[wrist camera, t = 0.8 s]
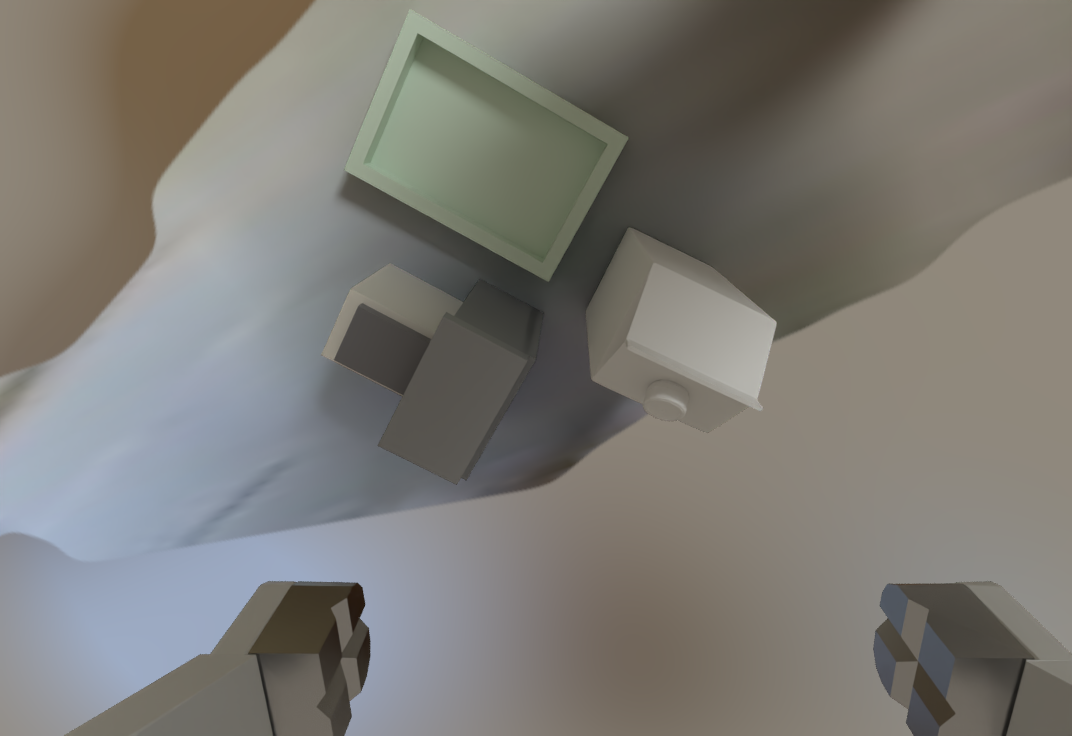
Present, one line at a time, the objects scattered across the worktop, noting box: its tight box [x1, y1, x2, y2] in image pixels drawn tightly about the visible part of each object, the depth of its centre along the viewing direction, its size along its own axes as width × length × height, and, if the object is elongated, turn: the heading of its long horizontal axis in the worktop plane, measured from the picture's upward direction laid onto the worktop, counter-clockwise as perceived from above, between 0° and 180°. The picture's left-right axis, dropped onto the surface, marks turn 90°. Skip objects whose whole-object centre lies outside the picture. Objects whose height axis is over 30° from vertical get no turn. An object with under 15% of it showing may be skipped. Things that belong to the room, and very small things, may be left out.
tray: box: [344, 9, 629, 282], centre depth 43 cm, size 11×16×2 cm
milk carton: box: [585, 227, 777, 433], centre depth 38 cm, size 7×7×19 cm
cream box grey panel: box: [321, 263, 463, 397], centre depth 44 cm, size 5×10×10 cm, turn 62°
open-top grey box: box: [378, 279, 544, 485], centre depth 43 cm, size 10×6×12 cm, turn 151°
